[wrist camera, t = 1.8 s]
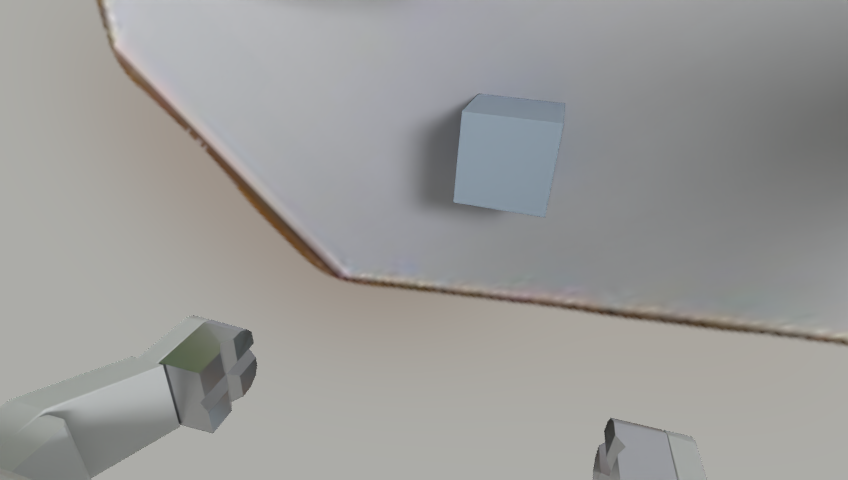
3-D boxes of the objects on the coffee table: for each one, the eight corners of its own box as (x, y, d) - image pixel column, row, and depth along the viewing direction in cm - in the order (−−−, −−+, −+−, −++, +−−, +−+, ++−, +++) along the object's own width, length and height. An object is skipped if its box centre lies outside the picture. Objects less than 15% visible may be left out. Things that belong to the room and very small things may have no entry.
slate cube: (565, 103, 27) (563, 123, 22) (548, 184, 29) (544, 217, 25) (478, 93, 28) (461, 111, 23) (469, 173, 30) (453, 202, 26)
